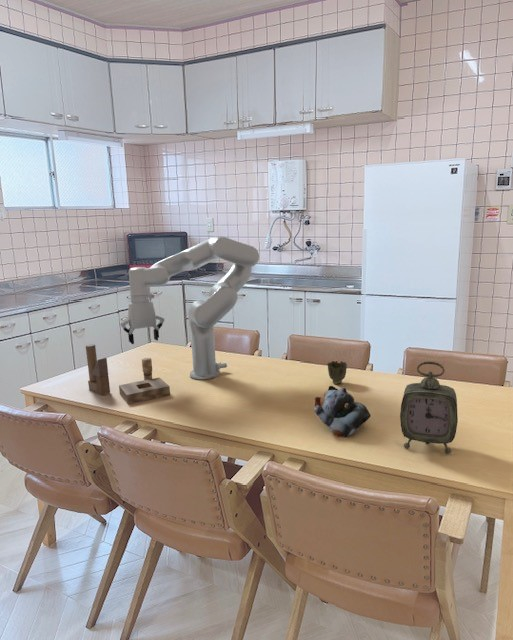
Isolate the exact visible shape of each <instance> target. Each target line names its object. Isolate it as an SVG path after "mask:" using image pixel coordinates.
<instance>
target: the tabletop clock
mask: <svg viewBox="0 0 513 640" xmlns="http://www.w3.org/2000/svg"><path fill="white" fill-rule="evenodd" d="M423 365H435V366H438V367H440V368H441V370H442V371H441V372H440V373H437V374H433V371H429V372H428V373H424V372H422V371H420V367H422V366H423ZM416 371H417V372H418V374H419V375H421V376H424V378H422V380H421V381H420V382H412V383H409V384H406V387H405V389H404V391H403V395H402V400H401V405H400V413H399V414H400V415H399V417H400V419H399V420H400V429H401V433H402V435H403V437H404V438H407V439H408V441H407V442H405V443H404V444H403V447H404V449H406V450H407V449H410V448H411V447H410V446H411V445H410V443H411V442H412V441H416V442H422V443H425V444H426V445H429V444H442V445H444V447H445V449H444V453H445V454H447V455H450V454H451V453H452V449H451V448H450V447H448V444H450V443H453V440H454V439H455V437H456V433H457V428H458V421H459V420H458V398H457V393H456V391H455V389H454V388H453V387H450V386H448V385H445V384H440V381H439V380H438V379H437V378H438V377H441V376H443V375H444V373H445V371H446V370H445V368H444V366H443V365H442V364H441V363H439V362H435V361H423V362H421V363H419V364H418V365H417V367H416Z"/></svg>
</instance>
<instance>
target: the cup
mask: <svg viewBox="0 0 513 640" xmlns="http://www.w3.org/2000/svg"><path fill="white" fill-rule="evenodd" d="M347 369H348V364H347V362H346V361H342V360H341V361H340V362H338V361H337V360H336V361H331V362H327V371H328V376H329V378H330V379H331V380H332V382H331V383H332V384H333V385H341V384H342V383H343V380H345V377H346V374H347Z"/></svg>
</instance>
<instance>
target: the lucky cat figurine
mask: <svg viewBox="0 0 513 640" xmlns="http://www.w3.org/2000/svg"><path fill="white" fill-rule="evenodd" d="M313 411H314V413H315V415H316V416H317V418H318V419H319V420H320V421H321V422H322V423H323V424H324V425H326V426H327V427H328V428H329V429H330V431H331V433H332V434H333V435H334V436H336V437H339V436H340V437H343V438H347V437H349V436H351V435H353V434H355V432H356V431H357V430H358V428H359V429H360V427H361V426H362V425H364V423H366V422H367V421H368V420H369V419H370V418H371V416H372V415H371V414H370V411H369V409H368V408H367V406H366V405H365V404H363V403H361V402H356V401H355V398H354V396H353V395H352V394H351V393H349V392H348V391H347V389H346V387H345V386H341V387H340V389H338V388H336V387H335V386H333V385H329V386H328V389H327V391H325V393H324V394H323V395H322V397H321V396H316V397H315V398H314V408H313Z"/></svg>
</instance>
